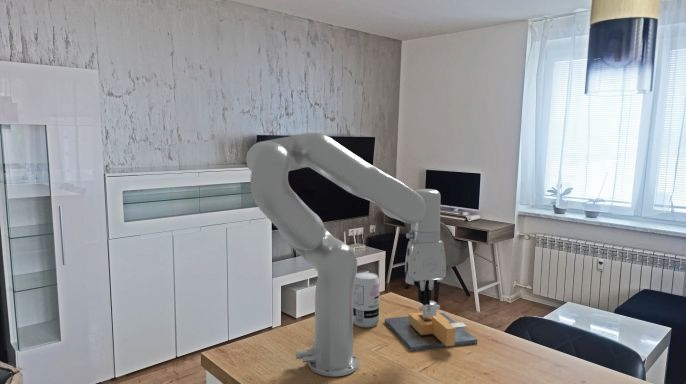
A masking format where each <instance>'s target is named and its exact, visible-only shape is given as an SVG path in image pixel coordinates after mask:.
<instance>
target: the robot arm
mask: <svg viewBox="0 0 686 384" xmlns="http://www.w3.org/2000/svg"><path fill="white" fill-rule="evenodd" d="M245 158H246V159H245V161H246V165H247V167H248V170H249V171H250V172H251V174H250V191H251V195H252V196H251V197H252V198H253V201H254V204H256V206H257V207H258V209H259V210H260V211H261V212H262V213H263V215H265V216H266V217H267V220H270V222H271V223H272V224H273V226H274V227H276V228H277V230H278V232H279V234H280V236H281V238H282V239H284V241H285V242H286V243H287V244H288V245H290V247H291V248H292V249H293V250H295V252H297V254H299V255H300V256H301V257H302V258H303V260H305V261H306V262H307V264H309V265H310V266H311V267H312V268H313V269H314V270H315V271H316V272H317V278H316V279H317V280H316V285H315V292H314V344H311V348H308V349H307V350H298V351H297V350H296V351H295V358H296V359H295V360H302V363H303V364H304V363H308V367H309V370H311V371H312V372H314V373H315V374H318V375H320V376H324V377H342V376H347V375H350V374H352V373H354V372H355V371H356V370H357V369H358V368H359V358H358V357H357V355H356V354H355V353H353V345H354V323H353V299H354V283H355V278H356V274H357V272H358V259H357V256H356V255H357V254H356V253H355V251H354V250H353V249H352V247H350V246H349V245H348V244H347V243H345V242H343V241H342V240H340V239H338V238H336V237H335V236H333V235H332V234H331V233H330V232H329V230H328V229H326V228H325V224H324V223H323V220H322V219H321V218H320V216H319V215H318V214H317V213H315V212H314V211H313V210H312V209H311V208H310V207H309V206H308V205H307V204H306V203H305V201H303V200H302V199H301V198H300V196H298V195H297V193H296V192H295V191H294V190H293V189H292V187H291V186H290V183H289V172H290V171H295V170H296V171H297V170H300V169H303V168H310V169H312V171H315V172H316V173H318V174H319V175H321V176H323V177H324V178H326V179H327V180H329V181H331V182H332V183H334V184H335V185H336V186H338V187H340V188H341V189H343V190H345V191H346V192H347V193H350V194H352V195H353V196H356V197H358V198H361V199H364V200H367V201H370V202H371V203H373V204H375V205H378V206H379V208H380V210H381V212H382V213H383V214H384V215H385V216H387V217H389V218H392V219H395V220H397V221H400V222H402V223H405V224H409V225H410V230H409V232H407V233H406V234H405V235H406V236H405V237H406V239H410V240H409V241H408V243H407V248H406V253H405V254H406V255H405V260H404V261H405V263H404V264H405V265H404V273H405V283H406V284H408V285H414V286H416V288H417V299H418V301H419V303H420V304H422V306H423V305H426V304H427V305H430V301H432V290H433V289H434V286H435V285H436V284H437V283H439V282H441V281H444V280H445V277H446V274H447V263H446V260H447V259H446V251H445V246H444V242H443V240H441V193H440V191H438V190H437V189H432V188H418V189H415V190H413V189H412V188H410V187H409V186H407V184H404V183H403V182H401V181H400V180H398V179H396V177H395V178H394V177H393V176H392V175H389V174H388V173H386V172H384V171H382V169H379V168H378V167H377V166H374V165H372V164H371V163H369V162H367V161H366V160H364V159H363V158H362V157H360V156H358V155H357V154H355V153H353V152H352V151H351V150H349V149H348V148H346V147H345V146H343V145H341V144H340V143H339V142H337V141H336V140H335V139H333V138H331V137H330V136H328V135H327V134H324V133H321V132H307V133H306V132H304V133H301V134H296V135H291V136H287V137H286V136H285V137H279V138H274V139H270V140H269V139H268V140H264V141H262V140H261V141H258V142H256V143H253V145H251V147H250V148H249V149H248V151H247V153H246V157H245Z"/></svg>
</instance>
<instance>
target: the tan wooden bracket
mask: <svg viewBox="0 0 686 384" xmlns="http://www.w3.org/2000/svg"><path fill="white" fill-rule="evenodd" d="M422 312H423V311H419V312H411V313H408V316H409V324H410V325H411V326H412V327H414V328H415V329H416V330H417V331H418V332H419V333H420V334H421V335H426V334H433V335H435V336H436V337H437V338H438V339H439V340H440V341H441V342H442V343H443V344H444V345H446V346H452V347H454V346H453V345H455V328H454V327H453V326H452V325H451V324H450V323H451V322H450V321H448V320H447V319H446V318H445V317H443V316H442V315H441V314H440V313H441V312H438V310H436V316H432V321H430V322H424V321H423V320H422Z"/></svg>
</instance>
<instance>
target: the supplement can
mask: <svg viewBox="0 0 686 384" xmlns="http://www.w3.org/2000/svg"><path fill="white" fill-rule="evenodd" d="M380 284H381V283H380V278H379V277H378V274H377V273H374V272H367V271H366V272H358V273H357V272H356V278H355V283H354V299H353V325H355V326H357V327H359V328H366V329H367V328H372V327H375V326H376V325H378V323H379V322H380V321H379V319H380V292H381V291H380V289H381V288H380Z"/></svg>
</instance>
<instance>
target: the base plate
mask: <svg viewBox="0 0 686 384" xmlns="http://www.w3.org/2000/svg"><path fill="white" fill-rule="evenodd" d="M440 309H441V305H439V304H437V302H436V301H434V300H430V305H427V304H426V305H423V304H422V306H421V305H420V306H418V310H419V312H422V320H423V321H424V322H430V321H432V316H436V311H438V310H440ZM439 313H440V314H441V315H442V316H443V317H445V318H446V319H447V320H448V321H450V322H451V323H450V324H451V325H452V326H453V327H454V328H455V345H453V346H446V345H444V344H443V343H442V342H441V341H440V340H439V339H438V338H437V337H436V336H435V335H433V334H426V335H421V334H420V333H419V332H418V331H417V330H416V329H415V328H414V327H412V326H411V325H410V324H409V315H408V316H398V317H390V318H389V317H388V318H387V317H386V318H384V323H385V325H386V326H387V327H388V328H389V327H390V328H389V329H390V330H391V331H392V332H393V333H394V334H395V335H396V336H397V338H398V339H399V340H400V342H402V344H404V345H405V346H406V348H408V350H409V349H410V350H411V351H410V350H409V351H410V352H417V350H418V351H425V349H427V350H433V348H435V349H442V347H443V348H450V347H459V346H467V345H475V344H476V345H477V344H478V339H477V338H476V337H475V336H474V335H472V334H471V333H470V332H468V331H467V330H466V329H465V328H467V327H468V325H467V324H466V323H464V322H463V321H458V322H456V321H454V320H453V319H452V318H450V317H449V316H448V315H447V314H446V313H444V312H442V313H441V312H439Z"/></svg>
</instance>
